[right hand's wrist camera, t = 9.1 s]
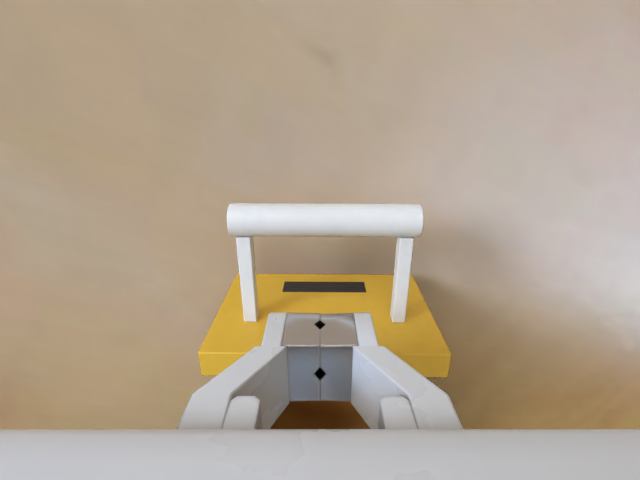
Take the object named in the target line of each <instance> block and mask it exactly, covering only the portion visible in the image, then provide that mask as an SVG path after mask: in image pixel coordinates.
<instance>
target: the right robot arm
mask: <svg viewBox="0 0 640 480" xmlns="http://www.w3.org/2000/svg"><path fill="white" fill-rule="evenodd" d="M289 401H351V404H352V405H353V406H354V408H355V409H356V410H357V412H358V413H359V414H360V416H361V417H362V418H363V420H364V421H365V422H366V423H367V425H368V426H369V427H370V429H270V428H271V426H272V425H273V424H274V422H275V421H276V420H277V419H278V417H279V416H280V415H281V413H282V412H283V411H284V409H285V408H286V407H287V405H288V404H289ZM0 480H640V429H463V427H462V425H461V422H460V420H459V418H458V416H457V413H456V411H455V409H454V407H453V404H452V402H451V400H450V397H449V395H448V394H447V393H445V392H444V391H443V390H441V389H440V388H439V387H437V386H436V385H435V384H433V383H432V382H431V381H429V380H428V379H427V378H425V377H424V376H423V375H422V374H420V373H419V372H418V371H416V370H415V369H414V368H412V367H411V366H410V365H408V364H407V363H406V362H404V361H403V360H402V359H400V358H399V357H398V356H396V355H395V354H394V353H393V352H391V351H390V350H389V349H387V348H386V347H385V346H379V344H378V340H377V336H376V332H375V328H374V324H373V320H372V316H371V313H370V312H362V313H330V314H320V313H286V312H275V313H270V314H269V315H268V320H267V324H266V328H265V332H264V336H263V340H262V344H261V346H255V347H254V348H253V349H251V350H250V351H249V352H247V353H246V354H245V355H243V356H242V357H241V358H240V359H238V360H237V361H236V362H234V363H233V364H232V365H230V366H229V367H228V368H226V369H225V370H224V371H222V372H221V373H220V374H218V375H217V376H216V377H214V378H213V379H212V380H210V381H209V382H208V383H206V384H205V385H204V386H202V387H201V388H200V389H198V390H197V391H196V392H195V393H193V394H192V396H191V398H190V400H189V402H188V405H187V407H186V409H185V411H184V413H183V416H182V418H181V420H180V422H179V425H178V427H177V429H0Z"/></svg>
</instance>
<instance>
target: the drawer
mask: <svg viewBox="0 0 640 480" xmlns="http://www.w3.org/2000/svg"><path fill="white" fill-rule="evenodd" d="M423 226H424V213H423V209H422V206H421V205H420V204H297V203H231V204H230V205H229V207H228V211H227V228H228V232H229V234H230V235H231V236H237V237H236V244H237V254H238V265H239V274H237V275H236V277H235V279H234V281H233V283H232V285H231V287H230V289H229V291H228V293H227V295H226V297H225V299H224V301H223V303H222V305H221V307H220V309H219V311H218V313H217V315H216V317H215V319H214V321H213V323H212V325H211V327H210V329H209V332H208V334H207V336H206V338H205V340H204V342H203V344H202V346H201V348H200V350H199V352H198V356H199V362H200V368H201V374H202V375H212V376H217V375H218V374H220V373H221V372H222V371H224V370H225V369H226V368H228V367H229V366H230V365H232V364H233V363H234V362H236V361H237V360H238V359H240V358H241V357H242V356H243V355H245V354H246V353H247V352H249V351H250V350H251V349H253V348H254V347H255V346H261V344H262V340H263V336H264V332H265V328H266V324H267V320H268V315H269V314H270V313H275V312H286V313H320V314H330V313H362V312H370V313H371V316H372V320H373V324H374V328H375V332H376V336H377V340H378V344H379V346H385V347H386V348H387V349H389V350H390V351H391V352H393V353H394V354H395V355H396V356H398V357H399V358H400V359H402V360H403V361H404V362H406V363H407V364H408V365H410V366H411V367H412V368H414V369H415V370H416V371H418V372H419V373H420V374H422V375H423V376H424V377H448V372H449V367H450V361H451V356H452V354H451V352H450V350H449V348H448V346H447V344H446V342H445V340H444V338H443V336H442V334H441V332H440V330H439V328H438V326H437V324H436V322H435V320H434V318H433V316H432V314H431V312H430V310H429V308H428V306H427V304H426V302H425V300H424V298H423V296H422V294H421V292H420V290H419V288H418V286H417V284H416V282H415V280H414V278H413V276H412V275H410V272H411V263H412V254H413V245H414V238H413V237H419V236H420V235H421V234H422V231H423ZM253 236H318V237H397V244H396V255H395V266H394V275H351V274H256V269H255V256H254V244H253ZM270 429H370V427H369V426H368V425H367V423H366V422H365V421H364V420H363V418H362V417H361V416H360V414H359V413H358V412H357V410H356V409H355V408H354V406H353V405H352V404H351V401H289V404H288V405H287V407H286V408H285V409H284V411H283V412H282V413H281V415H280V416H279V417H278V419H277V420H276V421H275V422H274V424H273V425H272V426H271V428H270Z"/></svg>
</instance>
